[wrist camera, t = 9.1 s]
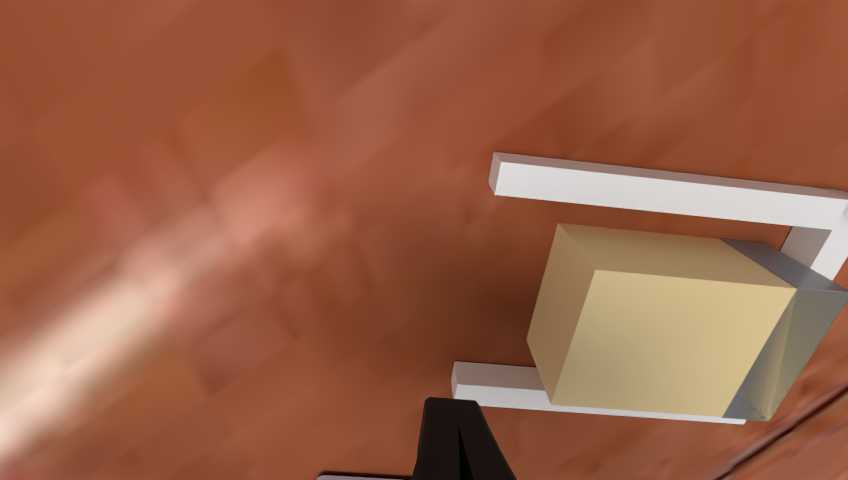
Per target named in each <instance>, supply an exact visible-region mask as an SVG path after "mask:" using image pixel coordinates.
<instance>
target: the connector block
mask: <svg viewBox="0 0 848 480" xmlns="http://www.w3.org/2000/svg"><path fill="white" fill-rule="evenodd" d="M847 301H848V289H846V288H844V287H842V286H840V285H839V284H837V283H835V282H833V281H832V280H830V279H828V278H826V277H825V276H823V275H821V274H819V273H817V272H816V271H814V270H812V269H810V268H809V267H807V266H805V265H803V264H802V263H800V262H798V261H796V260H795V259H793V258H791V257H789V256H787V255H786V254H784V253H782V252H780V251H779V250H777V249H775V248H773V247H772V246H770V245H768V244H766V243H765V242H755V241H745V240H735V239H725V238H720V239H714V238H704V237H694V236H684V235H674V234H664V233H655V232H645V231H635V230H625V229H615V228H605V227H595V226H585V225H575V224H565V223H558V225H557V228H556V232H555V236H554V239H553V243H552V247H551V250H550V254H549V258H548V261H547V265H546V269H545V272H544V276H543V280H542V283H541V287H540V291H539V294H538V298H537V302H536V305H535V309H534V313H533V316H532V320H531V324H530V327H529V331H528V335H527V338H526V340H527V343H528V346H529V348H530V351H531V354H532V356H533V359H534V362H535V364H536V367H537V370H538V372H539V375H540V378H541V380H542V383H543V386H544V388H545V391H546V394H547V396H548V399H549V402H550V404H551V405H562V406H576V407H590V408H604V409H618V410H632V411H645V412H659V413H673V414H687V415H701V416H715V417H721V418H730V419H744V420H758V421H769V420H770V419H771V417H772V416H773V414H774V413H775V411H776V410H777V408H778V407H779V405H780V404H781V402H782V401H783V399H784V397H785V396H786V394H787V393H788V391H789V390H790V388H791V387H792V385H793V384H794V382H795V381H796V379H797V378H798V376H799V374H800V373H801V371H802V370H803V368H804V367H805V365H806V364H807V362H808V361H809V359H810V358H811V356H812V355H813V353H814V351H815V350H816V348H817V347H818V345H819V344H820V342H821V341H822V339H823V338H824V336H825V335H826V333H827V332H828V330H829V328H830V327H831V325H832V324H833V322H834V321H835V319H836V318H837V316H838V315H839V313H840V312H841V310H842V309H843V307H844V305H845V304H846V302H847Z"/></svg>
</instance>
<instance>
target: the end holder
mask: <svg viewBox="0 0 848 480" xmlns="http://www.w3.org/2000/svg"><path fill="white" fill-rule="evenodd" d="M488 183H489V185H490V187H491V189H492V191H493V192H494V194H495V195H502V196H512V197H521V198H531V199H540V200H550V201H559V202H569V203H579V204H588V205H598V206H607V207H617V208H627V209H636V210H646V211H655V212H665V213H674V214H684V215H694V216H703V217H713V218H722V219H732V220H742V221H751V222H761V223H770V224H780V225H789V226H793V228H792V229H791V231H790V233H789V235H788V237H787V239H786V241H785V242H784V244H783V246H782V248H781V250H780V252H782V253H784V254H786V255H787V256H789V257H791V258H793V259H795V260H796V261H798V262H800V263H802V264H803V265H805V266H807V267H809V268H810V269H812V270H814V271H816V272H817V273H819V274H821V275H823V276H825V277H826V278H828V279H830V280H833V279H834V277H835V276H836V274H837V272H838V271H839V269H840V267H841V266H842V264H843V263H844V261H845V259H846V258H847V256H848V192H845V191H842V190H833V189H824V188H815V187H806V186H797V185H788V184H779V183H770V182H761V181H752V180H743V179H734V178H725V177H716V176H707V175H698V174H689V173H680V172H671V171H662V170H653V169H644V168H635V167H626V166H617V165H608V164H599V163H590V162H581V161H572V160H563V159H554V158H545V157H536V156H527V155H518V154H509V153H500V152H494V153H493V158H492V164H491V169H490V174H489V180H488ZM451 384H452V394H453V399H463V400H476V402H477V403H478V404H479V406H490V407H505V408H519V409H533V410H547V411H562V412H576V413H590V414H604V415H619V416H633V417H647V418H661V419H676V420H690V421H704V422H718V423H733V424H744V423H745V421H746V420H744V419H730V418H721V417H715V416H701V415H687V414H673V413H659V412H645V411H632V410H618V409H604V408H590V407H576V406H562V405H551V404H550V402H549V399H548V396H547V394H546V391H545V388H544V386H543V383H542V380H541V378H540V375H539V372H538V370H537V368H536V367H523V366H510V365H497V364H484V363H471V362H458V361H455V362H454V367H453V372H452V378H451Z"/></svg>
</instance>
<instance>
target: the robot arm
mask: <svg viewBox="0 0 848 480" xmlns="http://www.w3.org/2000/svg"><path fill="white" fill-rule="evenodd" d="M317 480H402V479H385V478H367V477H350V476H332V475H322V476H320V477H318V478H317ZM411 480H517V479H516V477H515V476H514V474H513V472H512V470H511V468H510V467H509V465H508V463H507V461H506V460H505V458H504V456H503V454H502V452H501V450H500V448H499V446H498V444H497V442H496V440H495V438H494V436H493V434H492V432H491V430H490V428H489V426H488V424H487V422H486V420H485V418H484V415H483V413H482V411H481V408H480V406H479V404H478V403H477V402H476V400H463V399H449V398H435V397H429V398H428V399H426V400H425V404H424V411H423V417H422V423H421V430H420V436H419V443H418V453H417V461H416V464H415V468H414V472H413V475H412V478H411Z"/></svg>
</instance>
